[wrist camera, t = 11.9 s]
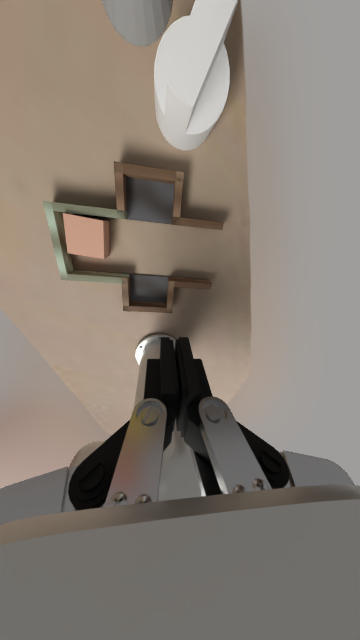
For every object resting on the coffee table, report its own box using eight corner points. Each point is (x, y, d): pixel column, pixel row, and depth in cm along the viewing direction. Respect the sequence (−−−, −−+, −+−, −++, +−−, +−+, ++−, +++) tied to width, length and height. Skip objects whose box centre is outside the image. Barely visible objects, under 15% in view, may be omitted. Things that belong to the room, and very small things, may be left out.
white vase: (195, 164, 29) (215, 132, 18) (145, 124, 26) (135, 59, 16) (227, 94, 25) (274, 7, 15) (173, 39, 23) (185, -117, 12)
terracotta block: (109, 255, 35) (104, 258, 31) (77, 249, 33) (67, 253, 30) (109, 220, 32) (103, 220, 28) (73, 213, 31) (62, 213, 27)
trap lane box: (203, 308, 42) (205, 314, 40) (74, 302, 38) (67, 308, 36) (225, 183, 30) (231, 179, 28) (43, 155, 27) (30, 148, 24)
